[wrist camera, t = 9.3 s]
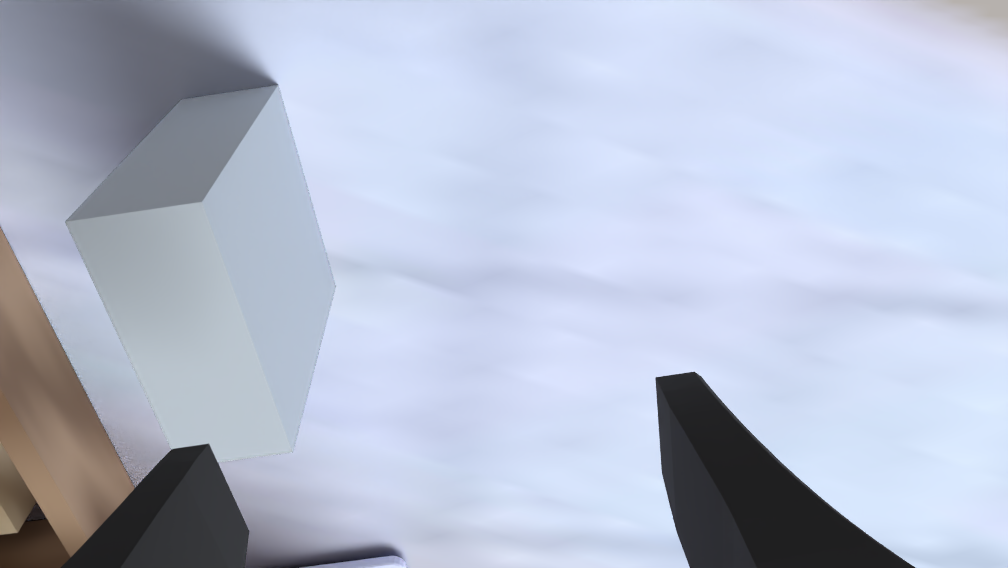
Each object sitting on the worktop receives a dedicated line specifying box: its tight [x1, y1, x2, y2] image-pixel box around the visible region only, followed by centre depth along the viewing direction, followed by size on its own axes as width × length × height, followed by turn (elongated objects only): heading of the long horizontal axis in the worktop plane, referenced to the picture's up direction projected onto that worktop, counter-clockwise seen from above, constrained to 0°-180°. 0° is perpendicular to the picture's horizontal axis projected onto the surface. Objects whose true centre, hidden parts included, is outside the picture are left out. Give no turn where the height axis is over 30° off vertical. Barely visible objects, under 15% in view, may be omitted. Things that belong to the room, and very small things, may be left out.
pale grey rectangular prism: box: [65, 85, 336, 463], centre depth 19 cm, size 6×2×7 cm, turn 8°
